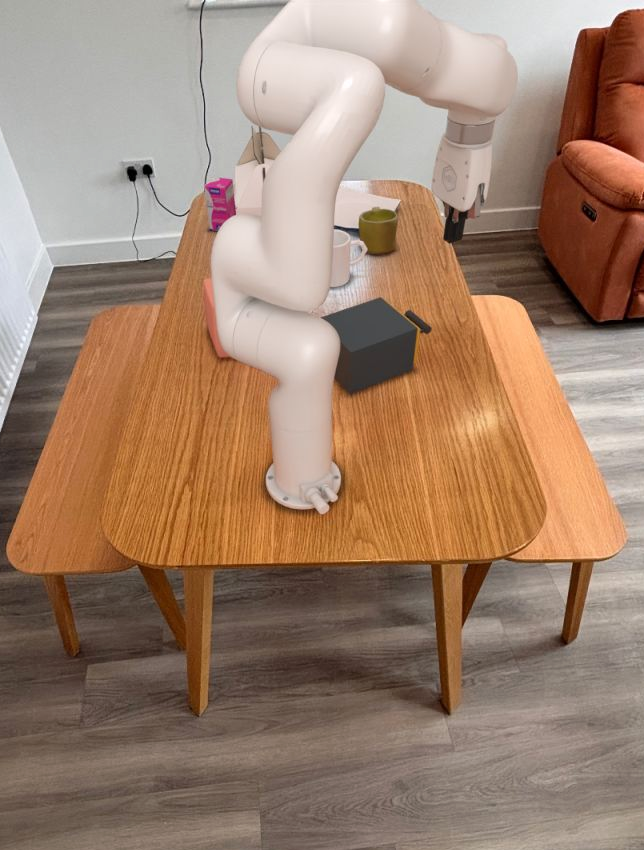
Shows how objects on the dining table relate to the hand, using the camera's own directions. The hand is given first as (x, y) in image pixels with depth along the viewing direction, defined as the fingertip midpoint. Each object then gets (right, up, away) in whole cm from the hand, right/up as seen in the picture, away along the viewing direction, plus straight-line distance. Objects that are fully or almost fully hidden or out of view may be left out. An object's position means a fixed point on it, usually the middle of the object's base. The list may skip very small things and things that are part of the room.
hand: (452, 239), depth 117 cm
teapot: (-37, -13, +18) cm, 43 cm away
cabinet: (-15, -21, +11) cm, 28 cm away
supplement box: (-48, +25, +51) cm, 74 cm away
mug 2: (-9, +17, +43) cm, 47 cm away
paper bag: (-36, +12, +40) cm, 55 cm away
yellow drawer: (-12, -18, +11) cm, 25 cm away
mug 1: (-19, +5, +33) cm, 38 cm away
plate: (-14, +28, +53) cm, 62 cm away
